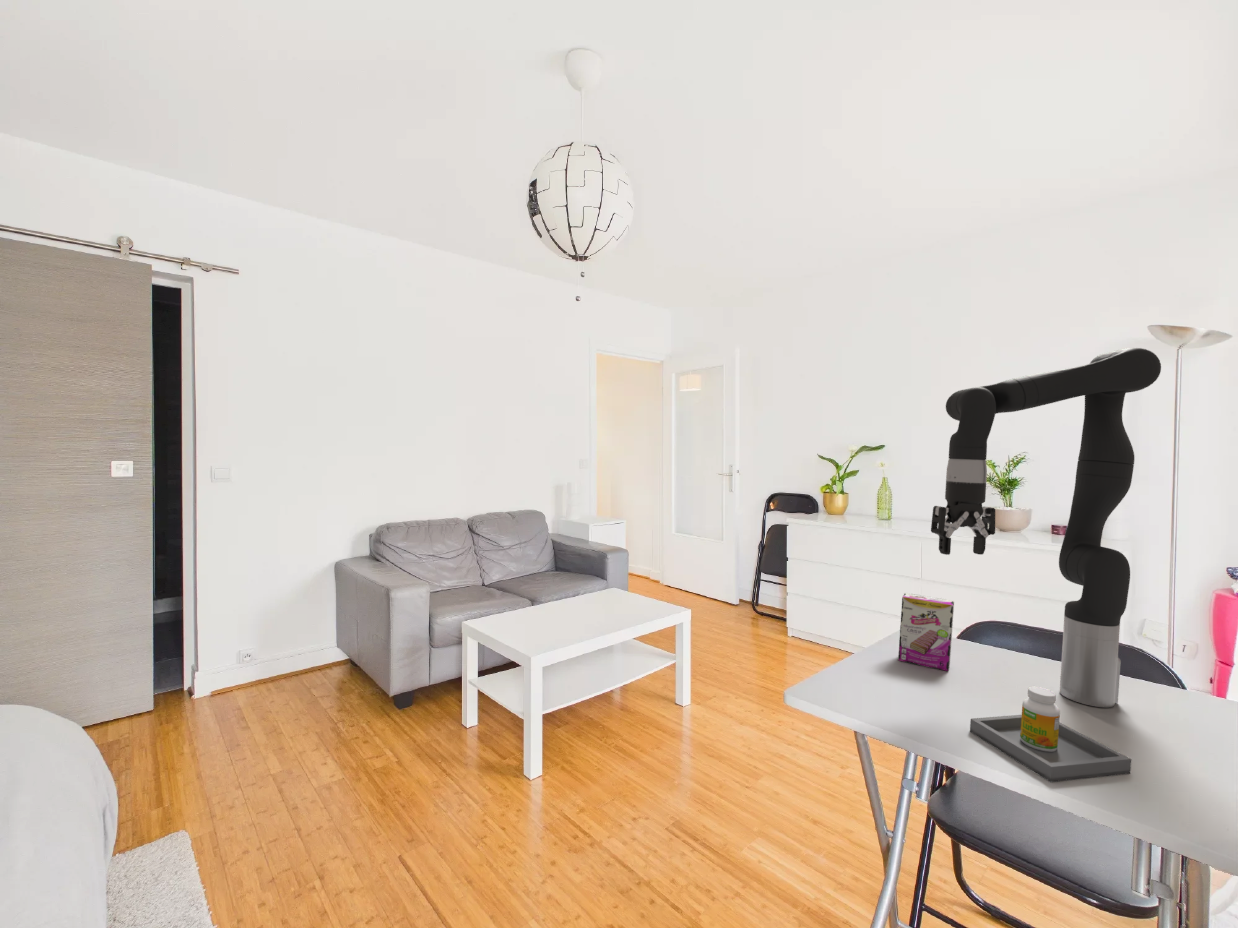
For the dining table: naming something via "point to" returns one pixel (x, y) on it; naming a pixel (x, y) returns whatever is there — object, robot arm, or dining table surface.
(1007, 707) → the dining table surface
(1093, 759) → the tray
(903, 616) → the candy bar box
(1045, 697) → the supplement bottle
